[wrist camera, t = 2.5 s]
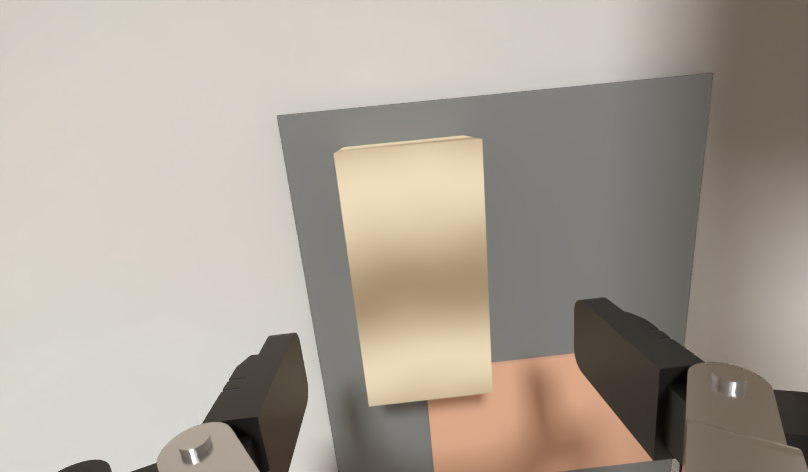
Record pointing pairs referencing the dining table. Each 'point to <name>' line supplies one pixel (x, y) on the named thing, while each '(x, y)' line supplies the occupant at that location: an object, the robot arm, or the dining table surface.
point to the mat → (518, 265)
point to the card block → (418, 266)
